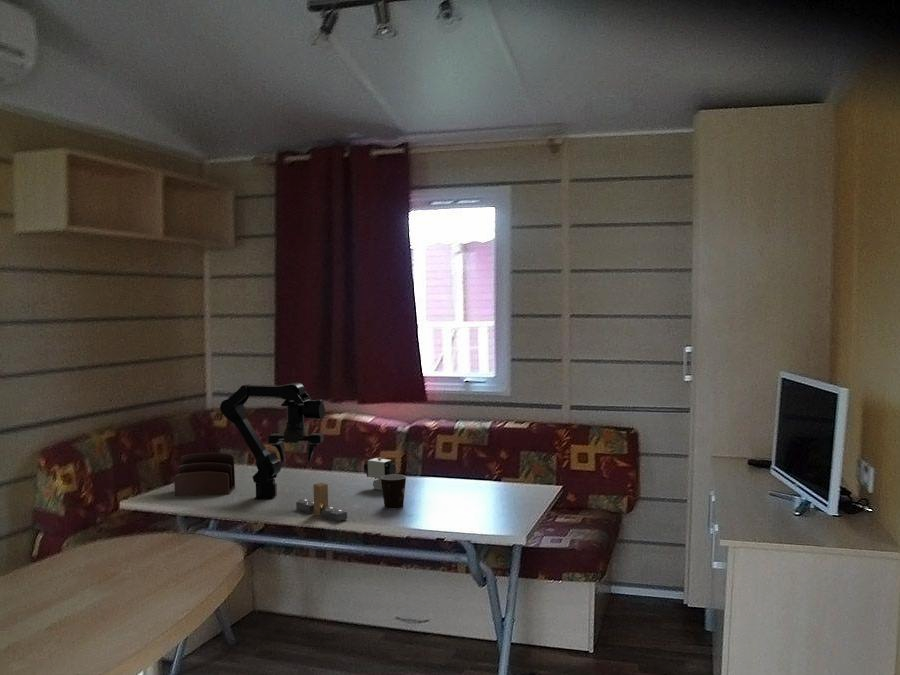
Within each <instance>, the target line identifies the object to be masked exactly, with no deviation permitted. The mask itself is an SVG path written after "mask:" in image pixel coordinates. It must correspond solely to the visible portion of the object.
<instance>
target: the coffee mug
mask: <svg viewBox="0 0 900 675" xmlns="http://www.w3.org/2000/svg"><path fill="white" fill-rule="evenodd" d="M406 480H407V476H406V475H404V474H396V473H395V474H391V475H384V476H382V477H381V484H382V490H381V491H382V498H383V499H382V500H383V505H384V508H385V507H386V508H385V509H389V508H397V509H401V508H403V507H404V502H405V491H406V484H407V483H406Z"/></svg>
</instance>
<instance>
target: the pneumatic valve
mask: <svg viewBox="0 0 900 675" xmlns="http://www.w3.org/2000/svg"><path fill="white" fill-rule="evenodd" d="M363 470H364V473H365V474H366V477H367V478H374V479H375V480H373V482H372V486H373V489H374V490H375V489H377V490H376V491H382V484H381V477H382V476H384V475H391V474H396V472H397V467H396V465H395V462H394V460H393V459H385V458H382V457H381V456H379V457H376V458H375V457H372V458H369V459H367V460H366V461H365V463H364V465H363Z"/></svg>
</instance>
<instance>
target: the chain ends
mask: <svg viewBox="0 0 900 675" xmlns="http://www.w3.org/2000/svg"><path fill="white" fill-rule="evenodd" d="M298 500H299V501H296V503H295V505H296V507H295V509H297V510H296V511H301V512H303V511H304V513H306V512H307V513H306V514H309V515H310V514H311V515H312V514H314V500H311V501H310V500H309V499H308V498H300V499H298ZM321 518H322V519H324V518H326V519H325V520H328V519H330V520H329V521H331V520H333V521H332V522H334V521H335V522H334V523H340V522H339V521H341V520H345V521H347V520H348V512H347V511H345V510H344V509H342V508H341V509H338V508H335V506H329V505H328V507H325V510H322V516H321ZM346 519H347V520H346ZM341 522H342V521H341Z"/></svg>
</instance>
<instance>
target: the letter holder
mask: <svg viewBox="0 0 900 675" xmlns="http://www.w3.org/2000/svg"><path fill="white" fill-rule="evenodd" d="M235 476H236V475H235V457H234V455H233V454H232V453H224V452H197V453H188V454H184V455H182V456H181V457H180V465H179V466H178V467H177V474H175V475H174V478H173V479H174V480H173V481H174V483H173V484H174V496H175V497H180V496H179V495H189V496H218V495H219V496H221V495H222V496H223V495H224V496H225V494H227V495H230V494H232V492H233V491H234V490H235V489H236V480H235V479H236V477H235Z"/></svg>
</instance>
